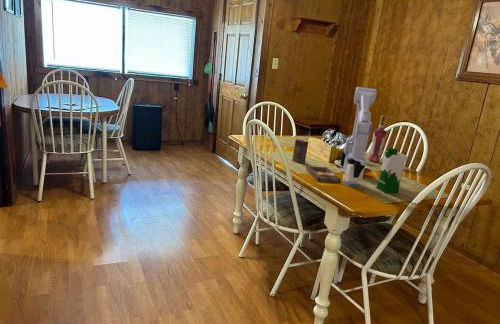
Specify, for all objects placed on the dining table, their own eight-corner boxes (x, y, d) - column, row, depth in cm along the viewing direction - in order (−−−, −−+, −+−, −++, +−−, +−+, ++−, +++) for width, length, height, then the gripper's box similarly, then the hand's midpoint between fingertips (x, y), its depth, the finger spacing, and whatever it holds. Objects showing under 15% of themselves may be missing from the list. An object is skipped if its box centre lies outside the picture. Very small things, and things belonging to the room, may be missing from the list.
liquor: (367, 158, 227) (376, 114, 219) (379, 160, 225) (389, 116, 217) (367, 161, 220) (377, 115, 212) (380, 163, 218) (390, 117, 211)
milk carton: (373, 187, 172) (382, 146, 167) (389, 187, 175) (398, 147, 169) (384, 194, 164) (394, 151, 159) (401, 194, 167) (411, 152, 161)
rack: (326, 170, 189) (326, 167, 189) (339, 182, 172) (340, 178, 172) (305, 169, 187) (306, 165, 187) (318, 181, 170) (318, 177, 170)
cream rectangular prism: (357, 178, 174) (360, 164, 172) (361, 181, 170) (364, 167, 168) (344, 177, 173) (347, 163, 171) (347, 180, 169) (350, 166, 167)
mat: (356, 182, 176) (356, 181, 176) (363, 187, 170) (363, 186, 169) (341, 181, 175) (341, 180, 174) (347, 186, 168) (347, 185, 168)
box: (305, 162, 200) (308, 141, 197) (299, 163, 197) (303, 142, 194) (297, 159, 205) (300, 138, 201) (291, 160, 202) (295, 139, 198)
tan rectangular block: (332, 178, 178) (333, 173, 177) (334, 181, 174) (335, 175, 174) (316, 177, 177) (317, 171, 176) (318, 180, 173) (319, 174, 172)
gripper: (344, 143, 173) (339, 170, 177) (358, 151, 160) (352, 180, 163) (358, 144, 175) (353, 171, 178) (373, 152, 161) (367, 181, 165)
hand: (353, 175), depth 171 cm, fingers closed on cream rectangular prism, 4 cm apart
